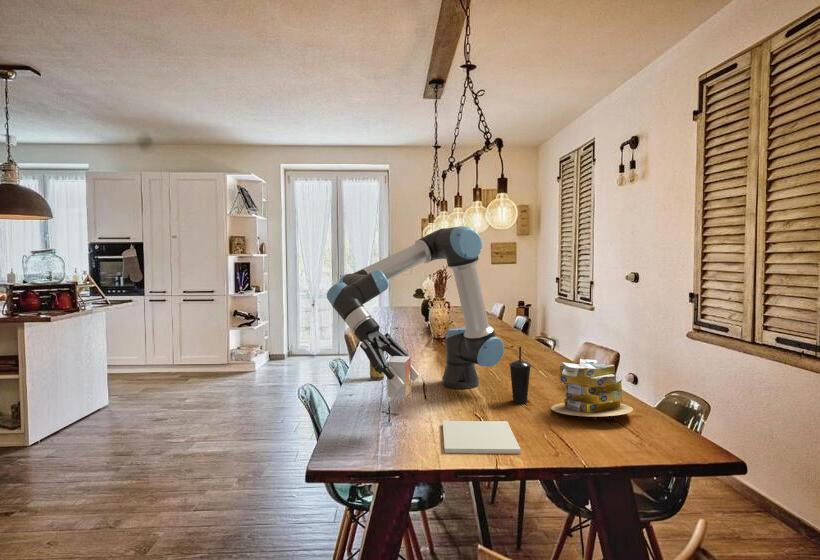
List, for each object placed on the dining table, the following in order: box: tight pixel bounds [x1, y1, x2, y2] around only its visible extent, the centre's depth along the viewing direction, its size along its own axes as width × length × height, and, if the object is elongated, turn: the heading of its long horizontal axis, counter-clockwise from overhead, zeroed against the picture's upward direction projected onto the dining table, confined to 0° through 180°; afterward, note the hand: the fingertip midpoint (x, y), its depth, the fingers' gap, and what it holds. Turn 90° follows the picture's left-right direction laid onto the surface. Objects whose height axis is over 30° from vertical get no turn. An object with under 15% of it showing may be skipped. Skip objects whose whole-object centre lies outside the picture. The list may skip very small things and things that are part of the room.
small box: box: [386, 355, 412, 399], centre depth 132 cm, size 8×6×10 cm
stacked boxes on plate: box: [551, 361, 634, 420], centre depth 146 cm, size 25×25×17 cm
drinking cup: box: [508, 346, 532, 405], centre depth 159 cm, size 8×8×20 cm
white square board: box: [442, 420, 522, 455], centre depth 128 cm, size 20×20×1 cm
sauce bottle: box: [369, 351, 385, 381], centre depth 191 cm, size 7×6×20 cm
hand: (408, 382), depth 130 cm, fingers closed on small box, 9 cm apart
